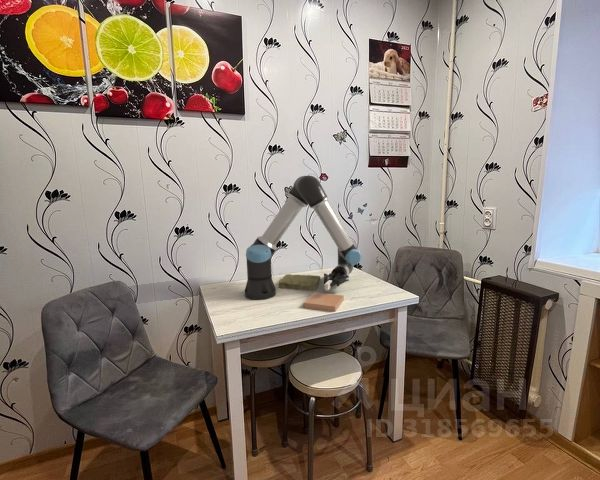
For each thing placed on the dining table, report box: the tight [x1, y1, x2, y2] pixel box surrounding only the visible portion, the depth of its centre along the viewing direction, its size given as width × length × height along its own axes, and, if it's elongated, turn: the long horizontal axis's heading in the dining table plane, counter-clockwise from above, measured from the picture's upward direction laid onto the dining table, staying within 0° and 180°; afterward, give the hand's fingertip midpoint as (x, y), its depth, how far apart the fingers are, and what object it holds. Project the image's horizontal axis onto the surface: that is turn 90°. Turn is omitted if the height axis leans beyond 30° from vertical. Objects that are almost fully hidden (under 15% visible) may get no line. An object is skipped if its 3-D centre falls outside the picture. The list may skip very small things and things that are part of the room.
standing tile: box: [303, 292, 345, 313], centre depth 144 cm, size 14×3×14 cm
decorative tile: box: [278, 273, 322, 291], centre depth 172 cm, size 19×20×4 cm
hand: (326, 287), depth 145 cm, fingers closed
